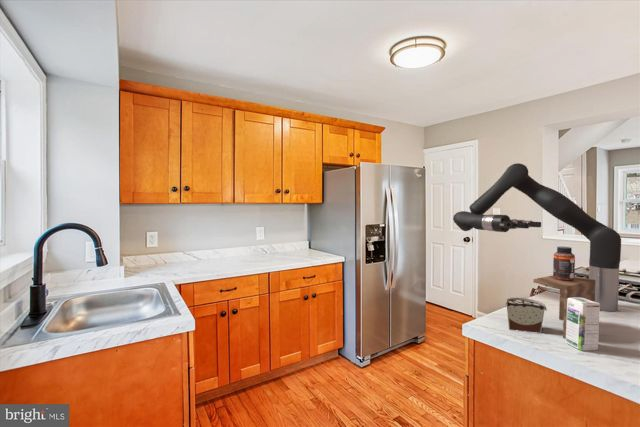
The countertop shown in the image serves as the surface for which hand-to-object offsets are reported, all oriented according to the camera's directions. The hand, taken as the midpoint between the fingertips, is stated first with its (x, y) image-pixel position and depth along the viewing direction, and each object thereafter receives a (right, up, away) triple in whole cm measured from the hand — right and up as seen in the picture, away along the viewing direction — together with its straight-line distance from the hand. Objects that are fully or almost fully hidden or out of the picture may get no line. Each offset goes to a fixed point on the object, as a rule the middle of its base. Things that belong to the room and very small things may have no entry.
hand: (534, 225), depth 126 cm
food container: (-14, -36, -15) cm, 41 cm away
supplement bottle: (-1, -19, -16) cm, 24 cm away
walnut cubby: (-1, -36, -15) cm, 39 cm away
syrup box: (-5, -36, -29) cm, 47 cm away
